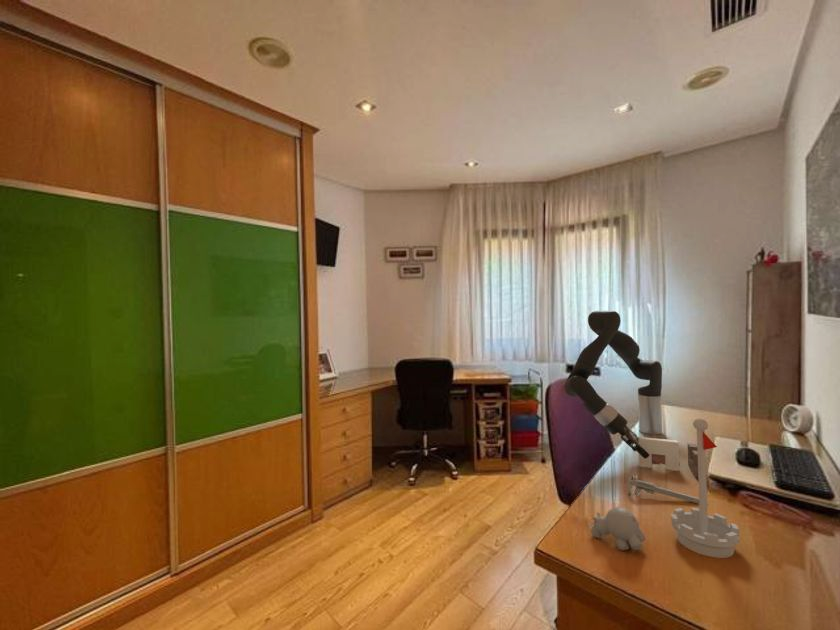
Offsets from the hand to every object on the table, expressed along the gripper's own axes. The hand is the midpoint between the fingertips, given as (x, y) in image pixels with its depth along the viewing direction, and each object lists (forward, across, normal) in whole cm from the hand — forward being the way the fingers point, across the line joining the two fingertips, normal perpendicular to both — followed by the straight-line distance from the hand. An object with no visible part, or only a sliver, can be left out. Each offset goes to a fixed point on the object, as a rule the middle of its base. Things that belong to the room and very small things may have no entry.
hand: (646, 453), depth 138 cm
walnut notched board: (+14, 0, -7) cm, 15 cm away
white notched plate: (+6, 0, +1) cm, 6 cm away
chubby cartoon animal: (-5, -56, +12) cm, 57 cm away
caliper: (+6, -26, +2) cm, 27 cm away
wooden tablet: (+8, +16, 0) cm, 19 cm away
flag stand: (+9, -48, -2) cm, 49 cm away
